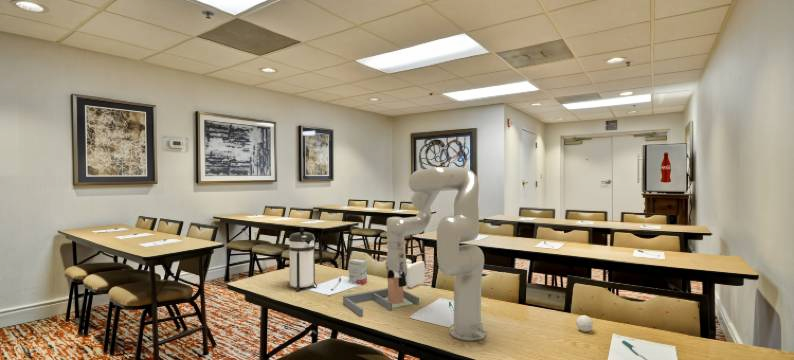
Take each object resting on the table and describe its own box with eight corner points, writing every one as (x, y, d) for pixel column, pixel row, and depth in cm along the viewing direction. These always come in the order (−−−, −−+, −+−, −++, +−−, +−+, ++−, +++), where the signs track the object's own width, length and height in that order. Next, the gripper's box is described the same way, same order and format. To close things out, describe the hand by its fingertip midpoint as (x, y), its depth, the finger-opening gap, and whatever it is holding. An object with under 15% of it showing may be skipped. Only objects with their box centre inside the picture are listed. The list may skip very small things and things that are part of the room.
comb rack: (419, 304, 168) (419, 296, 168) (360, 316, 154) (360, 308, 154) (398, 293, 184) (398, 286, 184) (343, 303, 170) (343, 295, 170)
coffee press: (322, 283, 201) (321, 225, 200) (311, 292, 185) (310, 230, 185) (290, 281, 204) (290, 225, 203) (276, 291, 188) (276, 229, 187)
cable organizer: (408, 290, 189) (408, 266, 189) (391, 286, 196) (391, 263, 195) (425, 283, 201) (425, 260, 201) (408, 279, 208) (408, 258, 207)
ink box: (367, 282, 201) (367, 260, 201) (361, 285, 197) (361, 262, 197) (354, 280, 206) (354, 258, 206) (348, 282, 202) (348, 260, 202)
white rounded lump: (578, 326, 144) (578, 311, 144) (594, 330, 140) (595, 315, 140) (572, 333, 138) (572, 317, 138) (589, 337, 134) (589, 321, 134)
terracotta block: (403, 302, 171) (403, 279, 170) (393, 304, 168) (393, 281, 168) (397, 298, 175) (397, 276, 175) (387, 300, 172) (387, 278, 172)
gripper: (413, 247, 165) (414, 287, 165) (393, 241, 180) (394, 278, 180) (398, 248, 161) (399, 289, 161) (379, 243, 176) (379, 281, 176)
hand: (396, 283), depth 171 cm, fingers open, 9 cm apart
